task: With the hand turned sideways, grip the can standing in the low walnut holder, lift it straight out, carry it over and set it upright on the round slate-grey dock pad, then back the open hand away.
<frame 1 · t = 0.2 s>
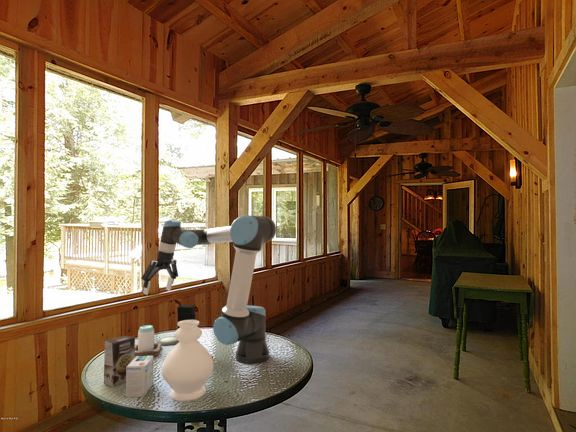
hand: (157, 292, 181), 27 cm above the table, tool tilted 15°, fingers open, 13 cm apart
coffee box: (119, 381, 142), on the table
dock pad: (168, 341, 190), on the table
walnut holder: (145, 352, 174), on the table
portable radio: (187, 355, 170), on the table
light bulb box: (139, 391, 134), on the table
can: (145, 352, 174), resting in walnut holder
decorative vase: (187, 393, 132), on the table
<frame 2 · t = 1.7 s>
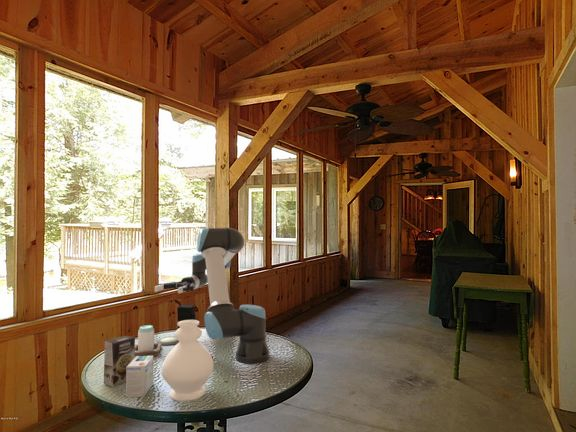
hand: (166, 289, 186), 27 cm above the table, tool horizontal, fingers open, 13 cm apart
nothing on the table moved.
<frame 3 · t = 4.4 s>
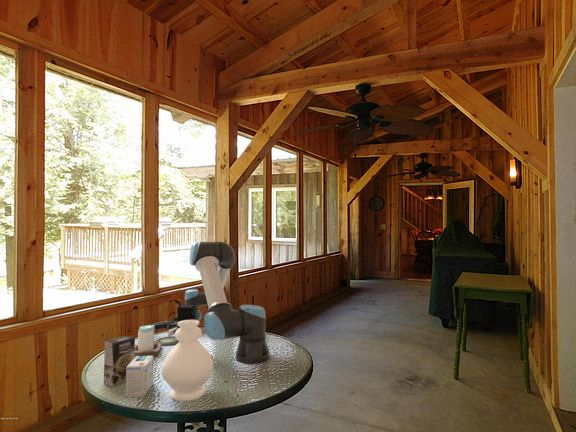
hand: (157, 332, 182), 7 cm above the table, tool horizontal, fingers open, 13 cm apart
nothing on the table moved.
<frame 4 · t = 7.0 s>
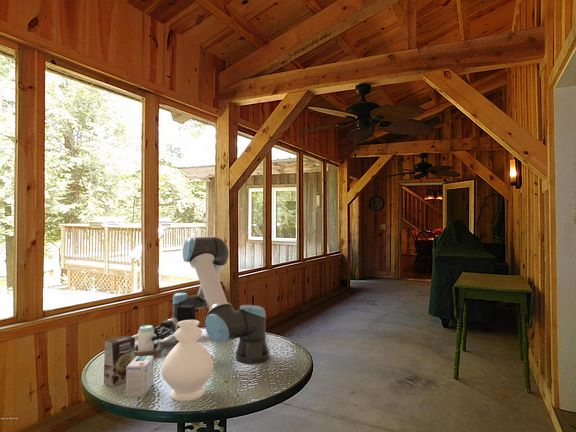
hand: (139, 340, 169), 7 cm above the table, tool horizontal, fingers closed on can, 7 cm apart
can: (146, 352, 174), resting in walnut holder, touching gripper
everything else where it was.
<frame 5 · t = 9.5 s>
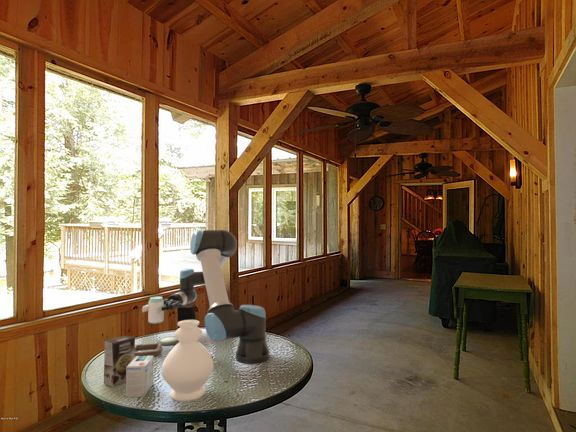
hand: (149, 309, 177), 19 cm above the table, tool horizontal, fingers closed on can, 7 cm apart
can: (156, 322, 181), point 12 cm above the table, touching gripper
everything else where it was.
when the fingers open (9 cm above the table, at t = 12.2 s): can drops 1 cm, resting on dock pad.
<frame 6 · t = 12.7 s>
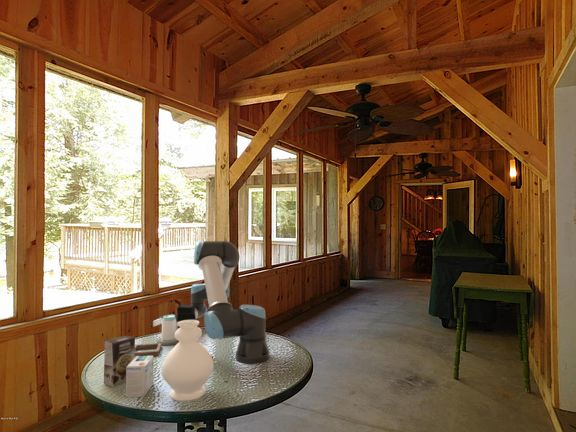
hand: (164, 324, 187), 9 cm above the table, tool horizontal, fingers open, 13 cm apart
can: (168, 339, 190), point 1 cm above the table, touching dock pad
everything else where it was.
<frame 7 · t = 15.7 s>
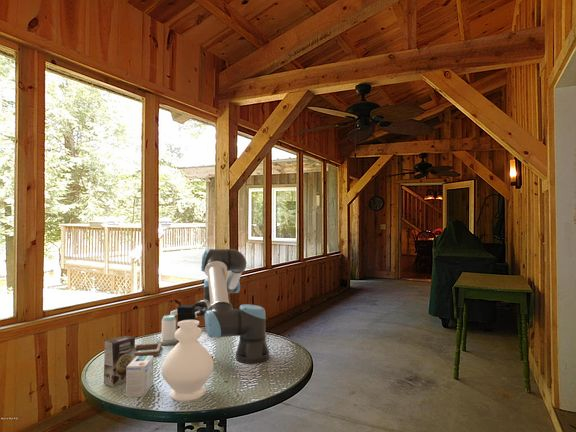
hand: (181, 315, 199), 11 cm above the table, tool horizontal, fingers open, 13 cm apart
nothing on the table moved.
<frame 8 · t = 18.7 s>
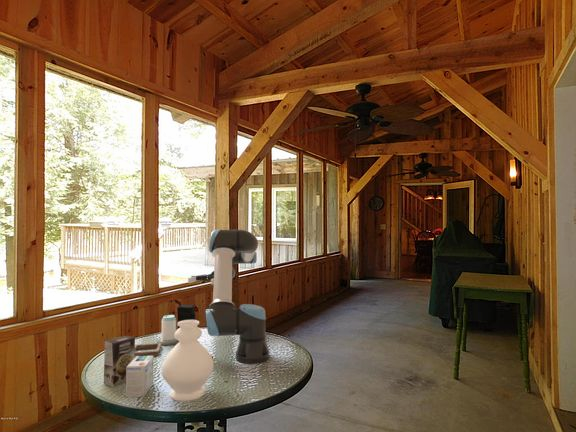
hand: (200, 281, 197), 30 cm above the table, tool horizontal, fingers open, 13 cm apart
nothing on the table moved.
at the end: can 0.1 cm off-centre on the dock pad, point 0.9 cm above the dock pad's base; can tilted 0°; the gripper is holding nothing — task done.
